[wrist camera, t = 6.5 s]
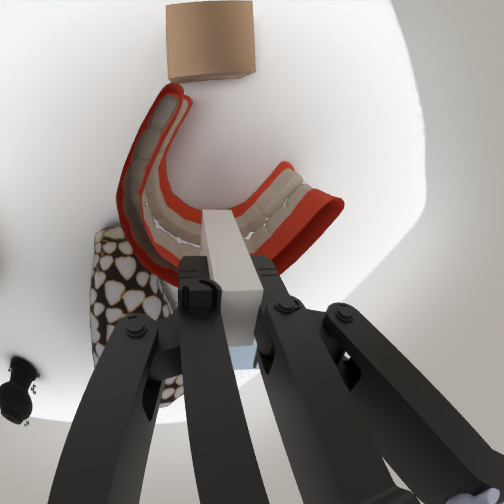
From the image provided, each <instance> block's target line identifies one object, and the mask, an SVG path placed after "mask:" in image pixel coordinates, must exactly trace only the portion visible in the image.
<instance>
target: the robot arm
mask: <svg viewBox="0 0 504 504" xmlns="http://www.w3.org/2000/svg"><path fill="white" fill-rule="evenodd" d="M178 283H179V288H178V307H177V309H176V311H175V312H174V313H173V314H171V315H170V316H168V317H165V318H163V319H159V320H154V319H153V318H151V317H150V316H148V315H145V314H143V313H133V314H129V315H126V316H124V317H123V318H121V319H120V320H119V321H118V322H117V324H116V325H115V327H114V329H113V331H112V333H111V335H110V337H109V339H108V341H107V343H106V345H105V348H104V350H103V352H102V354H101V356H100V358H99V360H98V362H97V365H96V367H95V369H94V371H93V373H92V376H91V378H90V380H89V383H88V385H87V387H86V390H85V392H84V394H83V397H82V399H81V402H80V404H79V407H78V409H77V412H76V414H75V417H74V420H73V422H72V425H71V428H70V430H69V433H68V436H67V439H66V442H65V445H64V448H63V451H62V454H61V457H60V460H59V463H58V467H57V470H56V473H55V477H54V480H53V484H52V487H51V491H50V496H49V500H48V504H139V500H140V494H141V489H142V483H143V478H144V473H145V468H146V463H147V458H148V453H149V449H150V444H151V439H152V435H153V430H154V426H155V422H156V417H157V413H158V409H159V405H160V401H161V397H162V393H163V389H164V385H165V381H166V379H169V378H172V377H175V376H178V375H181V374H182V378H183V389H184V399H185V409H186V417H187V425H188V433H189V441H190V448H191V454H192V460H193V467H194V473H195V478H196V484H197V489H198V494H199V499H200V504H270V503H269V500H268V497H267V494H266V490H265V487H264V484H263V480H262V477H261V474H260V470H259V467H258V463H257V460H256V456H255V453H254V449H253V445H252V442H251V439H250V434H249V431H248V427H247V423H246V419H245V415H244V411H243V407H242V404H241V399H240V395H239V391H238V387H237V383H236V378H235V374H234V370H233V365H232V361H231V357H230V352H229V348H228V347H238V346H250V345H253V340H254V336H255V339H256V343H257V349H256V353H255V357H254V362H253V368H256V366H257V362H258V365H259V368H260V371H261V375H262V378H263V381H264V385H265V388H266V391H267V394H268V397H269V400H270V404H271V407H272V410H273V413H274V416H275V420H276V422H277V426H278V429H279V432H280V435H281V438H282V441H283V444H284V447H285V450H286V453H287V456H288V459H289V462H290V465H291V468H292V471H293V474H294V477H295V480H296V483H297V486H298V489H299V491H300V494H301V497H302V500H303V503H304V504H420V502H419V500H421V501H422V502H423V503H424V504H503V503H504V455H503V454H501V453H498V452H496V451H494V450H492V448H491V447H490V446H489V445H488V444H487V443H486V442H485V441H484V439H482V437H481V436H480V435H479V434H478V433H477V432H476V430H475V429H474V428H473V427H472V426H471V425H470V424H469V423H468V422H467V421H466V420H465V418H464V417H462V415H461V414H460V413H459V412H458V411H457V410H456V409H455V408H454V407H453V406H452V405H451V404H450V402H449V401H447V400H446V398H445V397H444V396H443V395H442V394H441V393H440V392H439V391H438V390H437V389H436V388H435V387H434V386H433V385H432V384H431V383H430V382H429V381H428V380H427V379H426V378H425V377H424V376H423V374H422V373H421V372H420V371H419V370H418V369H417V368H416V367H415V366H414V365H413V364H412V363H411V362H410V361H409V360H408V359H407V358H406V357H404V355H403V354H402V353H401V352H400V351H399V350H398V349H397V348H396V347H395V346H394V345H393V344H392V343H391V342H390V341H389V340H388V339H387V338H386V337H385V336H384V335H383V334H382V333H380V332H379V331H378V330H377V329H376V328H375V327H374V326H373V325H372V324H371V323H370V322H369V321H368V320H367V319H366V318H365V317H364V316H363V315H362V314H361V313H360V312H359V311H358V310H357V309H355V308H354V307H352V306H351V305H348V304H346V303H333V304H331V305H329V307H328V309H327V311H326V312H321V311H315V310H309V309H306V308H305V306H304V305H303V303H302V302H301V301H300V300H299V299H297V298H295V297H293V296H290V295H289V293H288V291H287V289H286V287H285V285H284V283H283V281H282V280H281V278H280V276H279V274H278V272H277V270H276V268H275V266H274V264H273V262H272V261H271V260H270V259H269V258H268V257H266V256H265V255H249V253H248V250H247V248H246V245H245V243H244V240H243V238H242V235H241V233H240V230H239V228H238V225H237V223H236V221H235V218H234V216H233V213H232V211H231V210H213V209H202V224H201V245H200V256H183V257H182V259H181V260H180V261H179V263H178ZM345 352H347V353H348V355H349V356H350V359H349V358H347V357H345V356H344V354H345ZM382 457H383V458H384V459H385V461H386V462H387V463H388V464H389V465H390V467H391V468H392V469H393V470H394V471H395V472H396V474H397V475H398V476H399V477H400V478H401V480H402V481H403V482H404V483H405V484H406V485H407V486H408V488H409V489H410V490H411V491H412V492H413V493H414V494H413V493H412V492H410V491H408V490H405V489H402V488H399V487H397V486H396V484H395V483H394V481H393V479H392V477H391V475H390V473H389V471H388V469H387V467H386V465H385V463H384V460H383V458H382ZM417 498H419V500H418V499H417Z"/></svg>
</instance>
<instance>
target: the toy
mask: <svg viewBox="0 0 504 504" xmlns="http://www.w3.org/2000/svg"><path fill="white" fill-rule="evenodd" d="M191 106H192V99H191V98H190V97H189V96H186V95H184V90H183V88H182V86H181V85H179V84H177V83H170V84H167V85H165V87H164V88H163V89H162V90H161V92H160V93H159V95H158V96H157V98H156V100H155V101H154V103H153V105H152V107H151V108H150V110H149V112H148V114H147V115H146V117H145V119H144V121H143V122H142V124H141V126H140V129H139V131H138V133H137V135H136V137H135V140H134V142H133V144H132V147H131V149H130V152H129V154H128V157H127V159H126V162H125V164H124V167H123V170H122V174H121V177H120V181H119V185H118V189H117V194H116V203H117V209H118V214H119V219H120V224H121V228H122V230H123V232H124V234H125V236H126V238H127V240H128V242H129V244H130V245H131V247H132V249H133V251H134V253H135V255H136V256H137V258H138V260H139V261H140V263H141V264H142V265H143V266H144V267H145V268H146V269H147V270H149V271H150V272H152V273H153V274H155V275H156V276H158V277H159V278H161V279H163V280H164V281H166V282H168V283H169V284H171V285H173V286H175V287H178V288H179V283H178V263H179V261H180V260H181V259H182V257H183V256H200V249H199V248H197V247H194V246H191V245H187V244H183V243H182V244H179V245H178V243H177V241H176V240H175V239H174V238H173V237H171V236H170V235H168V234H167V233H165V232H164V231H162V230H161V229H156V228H155V223H154V220H153V218H152V216H151V213H150V211H149V209H148V208H147V207H146V206H145V203H146V196H147V197H148V205H149V208H150V210H151V212H152V215H153V217H154V218H155V219H157V220H158V221H159V224H160V225H161V226H162V227H163V228H164V229H165V230H167V231H168V232H170V233H171V234H172V235H174V236H176V237H180V238H181V239H182V240H184V241H187V242H190V243H193V244H197V245H201V224H202V211H201V210H198V209H195V208H192V207H189V206H188V205H187V204H185V203H184V202H183V201H182V200H180V199H179V198H178V197H176V196H175V195H174V194H173V193H172V191H171V188H170V185H169V182H168V179H167V174H166V163H165V157H166V154H167V152H168V149H169V147H170V144H171V142H172V140H173V138H174V136H175V134H176V132H177V130H178V128H179V126H180V125H181V123H182V122H183V120H184V118H185V116H186V115H187V113H188V112H189V110H190V108H191ZM302 183H303V179H302V177H301V176H300V175H298V174H297V173H295V172H294V169H293V166H292V165H291V164H290V163H288V162H285V161H284V162H282V163H280V164H279V165H278V167H277V168H276V169H275V170H274V171H273V173H272V174H271V175H270V176H269V177H268V178H267V180H266V181H265V182H264V183H263V184H262V185H261V186H260V187H259V188H258V190H257V191H256V192H255V193H254V194H253V195H252V196H251V197H250V198H249V199H248V200H247V201H246V202H245V203H243V204H241V205H238V206H236V207H233V208H231V209H227V210H231V211H232V213H233V216H234V218H235V221H236V223H237V225H238V228H239V230H240V233H241V235H242V238H245V237H247V236H248V234H249V233H250V232H254V233H253V235H252V236H251V238H250V240H246V239H244V243H245V245H246V248H247V250H248V253H249V255H265V256H266V257H268V258H269V259H270V260H271V261H272V262H273V264H274V266H275V268H276V270H277V272H278V274H279V275H281V274H282V273H283V272H284V271H285V270H286V269H288V268H289V267H290V266H291V265H292V264H293V263H295V262H296V261H297V260H298V259H299V258H300V257H301V256H302V255H303V254H304V253H305V252H306V251H307V250H308V249H309V248H310V247H311V246H312V245H313V243H314V242H315V241H316V240H317V239H318V238H319V237H320V236H321V235H322V234H323V233H324V232H325V231H326V229H327V228H328V227H329V226H330V225H331V224H332V222H333V221H334V220H335V219H336V218H337V217H338V216H339V214H340V213H341V212H342V210H343V209H344V201H343V200H342V199H341V198H338V197H334V196H331V195H329V194H327V193H325V192H322V191H320V190H318V189H313V188H312V187H310V186H309V185H307V184H302ZM287 198H288V199H287ZM285 199H287V201H286V205H285V206H283V205H284V203H285ZM269 217H270V218H269ZM266 218H269V219H268V220H267V222H266ZM265 223H266V226H263V225H264V224H265Z"/></svg>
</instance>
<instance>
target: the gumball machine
mask: <svg viewBox="0 0 504 504" xmlns="http://www.w3.org/2000/svg"><path fill="white" fill-rule="evenodd" d="M9 368H11V369H12V370H11V369H8V371H9V372H10V370H11V377H10V381H9V382H6V383H4V384H2V385H1V386H0V409H1V414H2V415H3V416H4V417H5V418H6V419H7V420H9V421H11V422H13V423H15V424H21V423H22V422H23V420H25V419H27V418H28V417H29V416H30V414H31V412H32V401H31V398H30V396H29V394H28V389H29V387H30V385H31V383H32V381H34V380H35V379H36V377H38V378H39V376H40V374H37V372H36V371H35V369H34V368H33V367H32V366H31V365H29V364H28V363H27V362H25V361H23V360H21V359H17V358H13V359H11V363H10V366H9ZM35 386H36V385H34V384H33V387H35ZM31 390H32V391H33V394H36V392H35V391H34V388H32V387H31ZM27 424H29V422H28V421H26V424H24V426H26V425H27Z"/></svg>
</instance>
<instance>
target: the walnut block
mask: <svg viewBox="0 0 504 504" xmlns="http://www.w3.org/2000/svg"><path fill="white" fill-rule="evenodd" d="M166 39H167V63H168V79H169V80H170V81H171V83H177V84H178V83H186V82H195V81H204V80H216V79H233V78H242V77H244V76H246V75H249V74H251V73H253V72H256V68H255V45H254V23H253V3H252V1H236V0H229V1H202V2H189V3H180V4H172V5H166Z"/></svg>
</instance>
